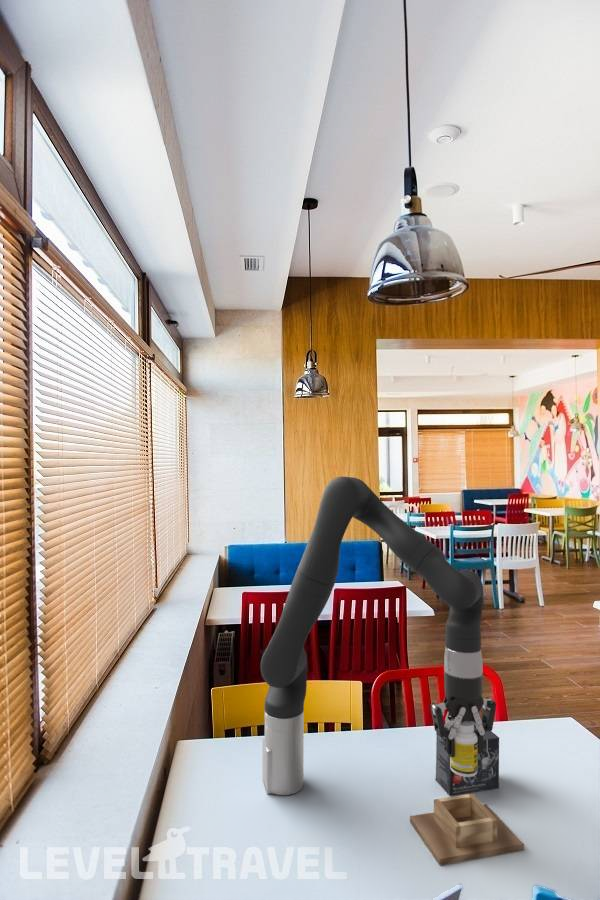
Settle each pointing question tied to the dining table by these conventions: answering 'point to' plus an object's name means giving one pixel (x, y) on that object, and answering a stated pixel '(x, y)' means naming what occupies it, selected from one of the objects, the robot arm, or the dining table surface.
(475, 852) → the holder stand
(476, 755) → the supplement bottle
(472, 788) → the small box
